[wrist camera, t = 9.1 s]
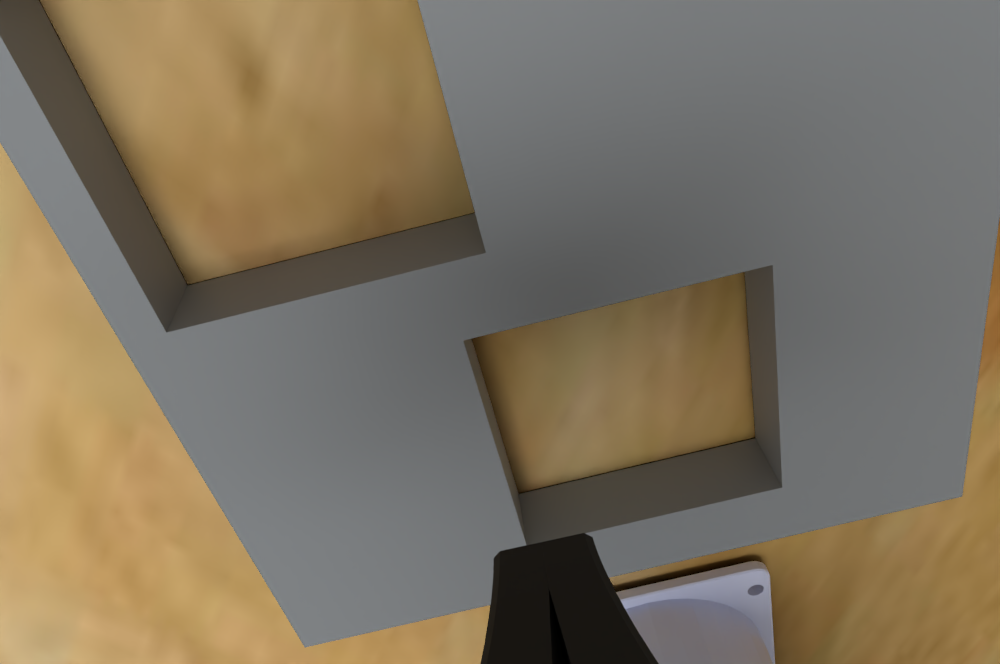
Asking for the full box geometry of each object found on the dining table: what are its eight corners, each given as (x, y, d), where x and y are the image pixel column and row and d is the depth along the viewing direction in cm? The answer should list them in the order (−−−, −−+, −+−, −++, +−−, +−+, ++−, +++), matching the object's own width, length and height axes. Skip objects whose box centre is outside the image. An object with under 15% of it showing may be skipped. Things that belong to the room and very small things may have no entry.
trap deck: (1298, 361, 24) (1365, 403, 22) (311, 591, 25) (304, 647, 23) (1712, -645, 13) (1910, -712, 11) (-95, -137, 14) (-164, -128, 12)
